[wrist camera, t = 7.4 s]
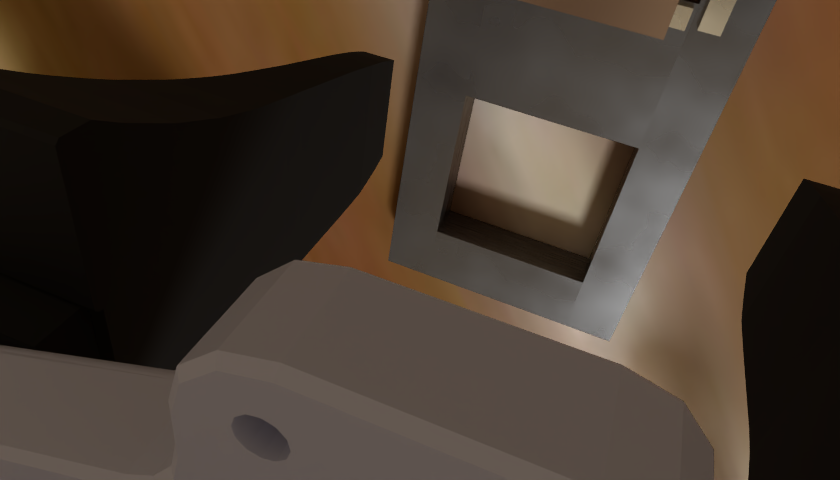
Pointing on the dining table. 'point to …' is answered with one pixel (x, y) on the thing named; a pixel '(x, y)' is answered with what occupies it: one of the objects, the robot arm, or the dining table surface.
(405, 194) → the grey peg holder tray
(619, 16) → the square peg block
